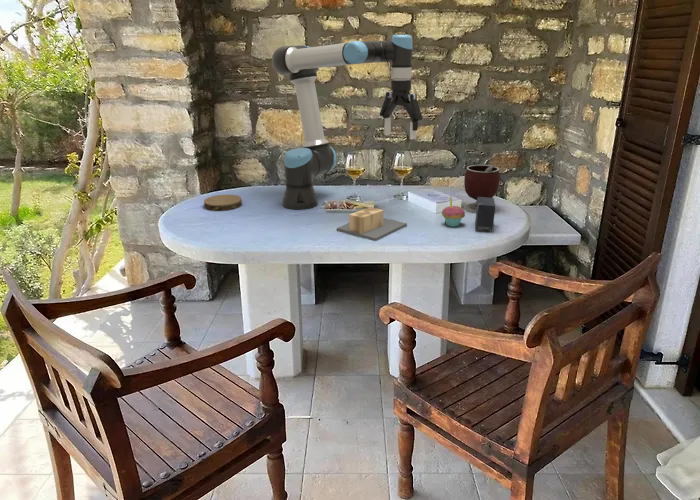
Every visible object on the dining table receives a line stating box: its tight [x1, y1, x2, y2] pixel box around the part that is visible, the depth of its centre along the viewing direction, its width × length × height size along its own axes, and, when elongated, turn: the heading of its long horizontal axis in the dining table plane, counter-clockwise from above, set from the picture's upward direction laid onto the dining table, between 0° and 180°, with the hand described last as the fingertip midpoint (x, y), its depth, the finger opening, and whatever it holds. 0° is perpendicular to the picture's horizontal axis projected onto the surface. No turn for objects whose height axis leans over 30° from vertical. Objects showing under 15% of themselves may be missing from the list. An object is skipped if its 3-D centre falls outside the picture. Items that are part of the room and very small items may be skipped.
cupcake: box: [441, 194, 466, 227], centre depth 195 cm, size 9×8×12 cm
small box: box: [474, 197, 496, 233], centre depth 192 cm, size 11×6×10 cm, turn 168°
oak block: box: [348, 206, 384, 234], centre depth 191 cm, size 6×6×12 cm
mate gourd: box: [463, 164, 501, 214], centre depth 211 cm, size 16×14×20 cm
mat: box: [336, 217, 408, 242], centre depth 194 cm, size 18×20×1 cm
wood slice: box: [203, 194, 243, 212], centre depth 223 cm, size 16×16×3 cm
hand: (399, 137), depth 201 cm, fingers open, 13 cm apart
